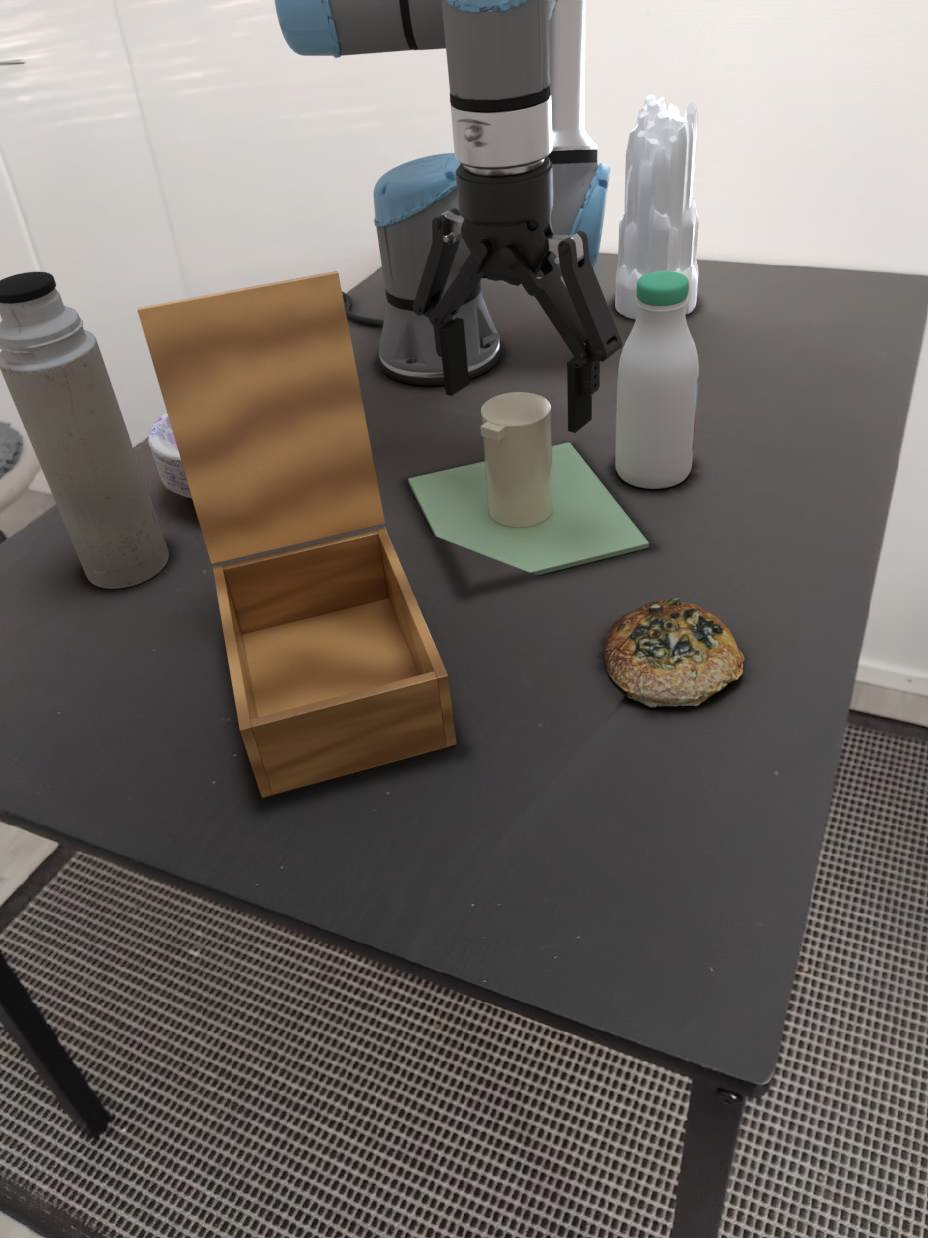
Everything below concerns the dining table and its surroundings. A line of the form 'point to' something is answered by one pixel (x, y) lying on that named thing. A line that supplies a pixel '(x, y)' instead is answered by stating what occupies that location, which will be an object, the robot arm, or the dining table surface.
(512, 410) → the jug
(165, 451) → the paper bowls
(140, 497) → the thermos bottle
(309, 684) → the chest
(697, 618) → the bread roll
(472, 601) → the dining table surface
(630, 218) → the decorative vase
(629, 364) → the milk bottle
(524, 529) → the mat
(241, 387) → the chest lid
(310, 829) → the dining table surface
